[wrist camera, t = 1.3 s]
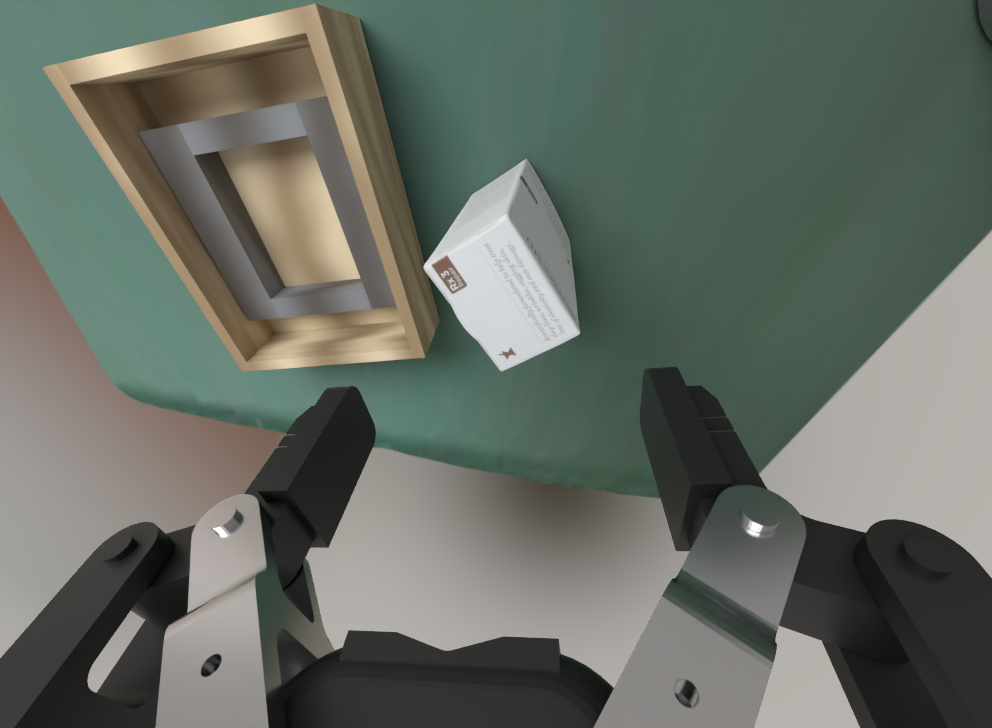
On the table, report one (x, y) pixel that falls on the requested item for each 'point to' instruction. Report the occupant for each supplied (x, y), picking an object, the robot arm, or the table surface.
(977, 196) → the table surface
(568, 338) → the skincare box
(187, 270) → the crate
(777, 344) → the table surface
